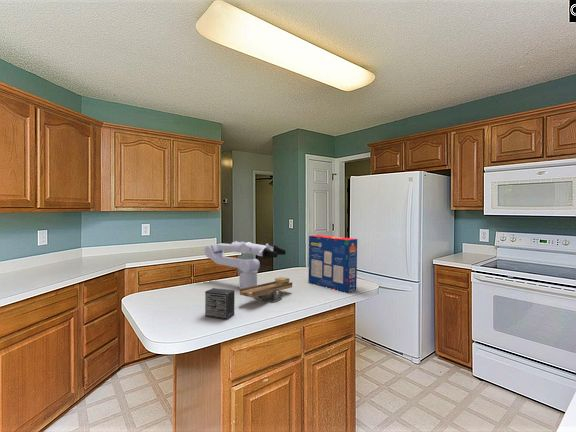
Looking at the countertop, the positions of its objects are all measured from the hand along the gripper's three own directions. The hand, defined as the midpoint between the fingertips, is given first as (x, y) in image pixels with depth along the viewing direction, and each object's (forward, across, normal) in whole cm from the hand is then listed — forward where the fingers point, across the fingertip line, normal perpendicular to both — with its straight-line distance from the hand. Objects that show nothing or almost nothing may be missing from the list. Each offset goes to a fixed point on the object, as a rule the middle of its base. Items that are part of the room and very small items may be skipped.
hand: (281, 253), depth 154 cm
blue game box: (+17, +27, +22) cm, 39 cm away
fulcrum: (0, -11, +20) cm, 23 cm away
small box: (-3, -40, +19) cm, 44 cm away
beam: (0, -11, +16) cm, 20 cm away
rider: (0, +1, +16) cm, 16 cm away
